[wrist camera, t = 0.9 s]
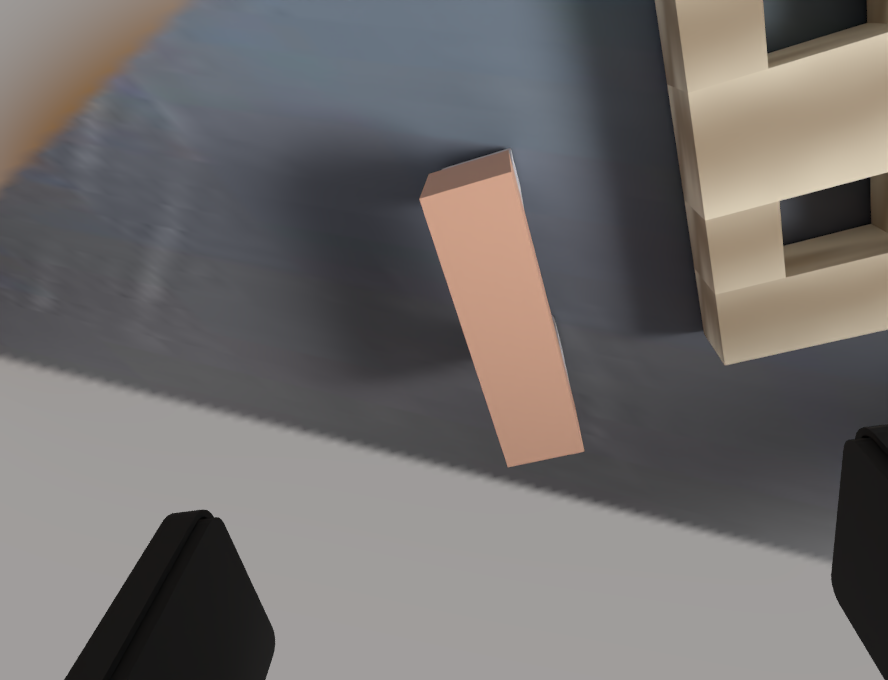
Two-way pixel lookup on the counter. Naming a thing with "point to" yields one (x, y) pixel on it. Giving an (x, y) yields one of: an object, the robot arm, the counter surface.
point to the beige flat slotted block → (778, 172)
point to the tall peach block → (503, 305)
